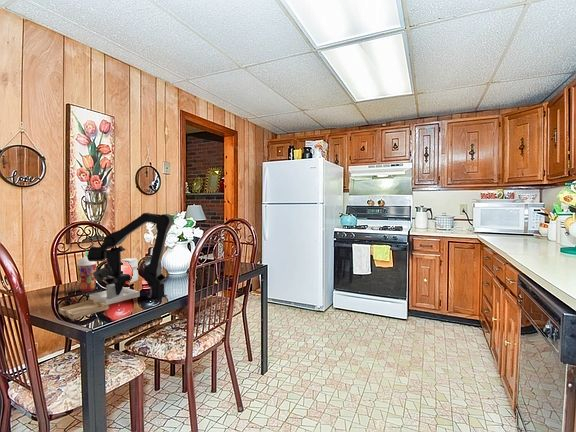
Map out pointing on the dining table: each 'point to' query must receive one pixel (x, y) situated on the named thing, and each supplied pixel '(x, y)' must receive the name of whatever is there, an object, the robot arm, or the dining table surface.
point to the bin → (126, 295)
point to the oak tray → (83, 309)
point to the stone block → (112, 291)
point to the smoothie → (86, 274)
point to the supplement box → (133, 267)
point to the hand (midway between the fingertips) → (114, 294)
